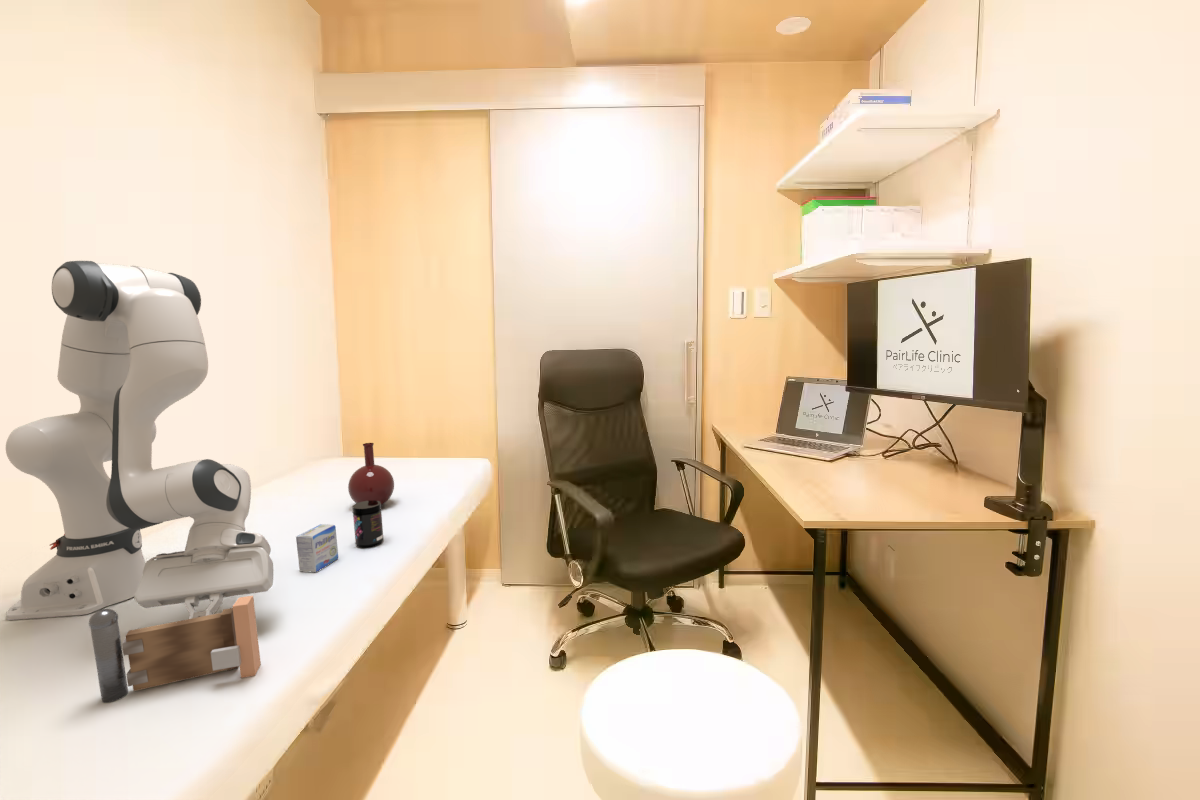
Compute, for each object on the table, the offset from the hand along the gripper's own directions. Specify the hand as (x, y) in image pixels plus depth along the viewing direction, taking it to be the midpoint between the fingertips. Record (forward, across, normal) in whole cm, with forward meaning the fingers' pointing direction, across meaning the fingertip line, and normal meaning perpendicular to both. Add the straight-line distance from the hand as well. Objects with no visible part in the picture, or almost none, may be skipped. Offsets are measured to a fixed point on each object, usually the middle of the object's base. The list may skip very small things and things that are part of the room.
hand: (199, 624), depth 93 cm
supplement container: (-26, +23, +33) cm, 48 cm away
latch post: (+10, +8, -4) cm, 14 cm away
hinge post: (+10, -8, -3) cm, 13 cm away
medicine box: (-19, +13, +26) cm, 34 cm away
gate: (+9, +1, -3) cm, 10 cm away
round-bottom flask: (-48, +21, +56) cm, 77 cm away
